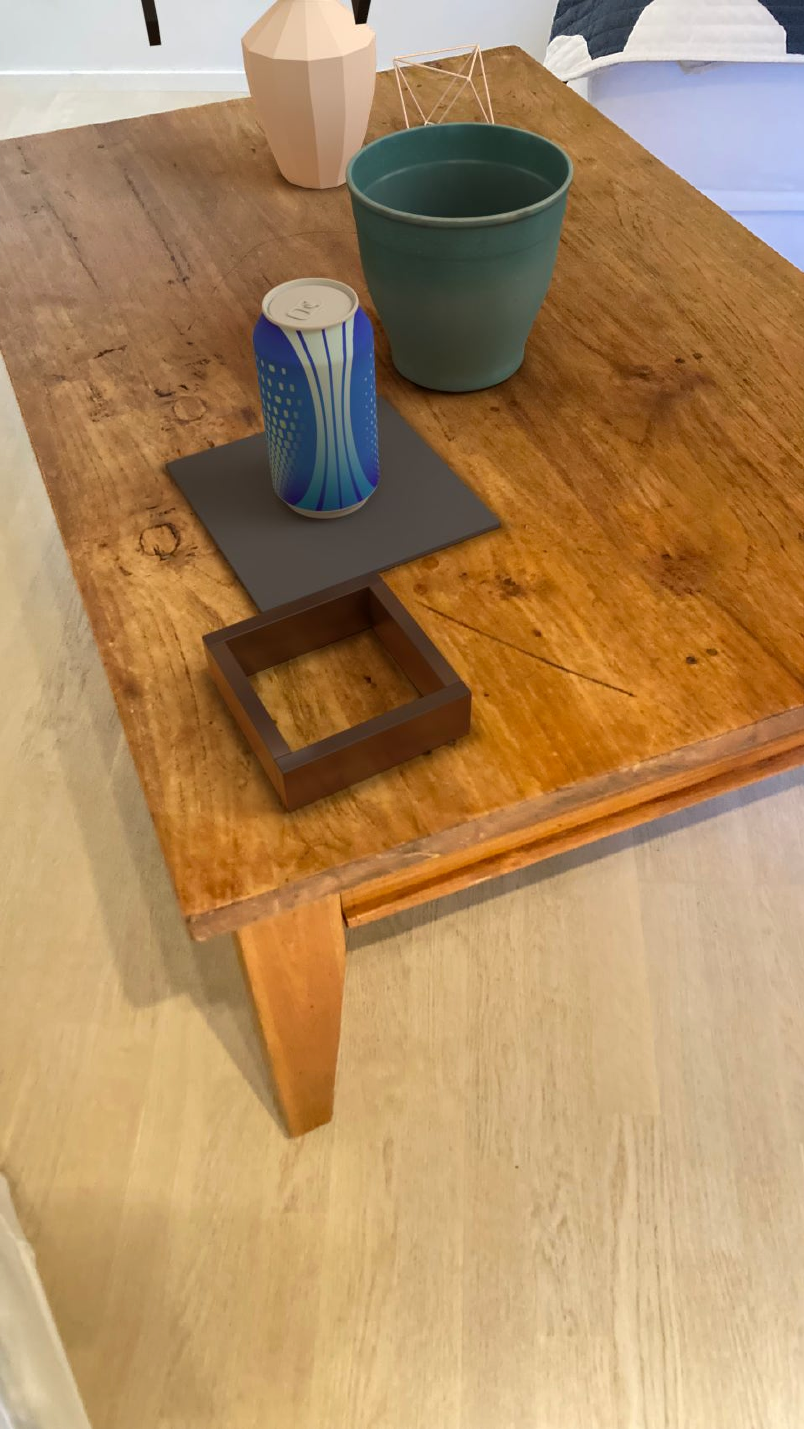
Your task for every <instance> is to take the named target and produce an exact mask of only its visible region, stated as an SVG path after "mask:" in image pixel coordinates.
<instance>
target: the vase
mask: <svg viewBox="0 0 804 1429" xmlns="http://www.w3.org/2000/svg"><path fill="white" fill-rule="evenodd" d="M376 36H377V35H376V33H375V31H374V30H373V29H372V28H371V26H369V25H368V23H366V24H358V25H355V20H354V14H353V11H352V10H350V8H348V7H346V6H345V5H344V4H343V3H341V2H340V1H339V0H276V1H275V2H274V3H273V4H272V5H271V6H270V7H269V8H268V9H267V10H266V11H265V12H264V13H263V14H262V15H261V17H259V19H257V20H256V21H255V23H254V24H253V25H252V26H251V27H250V28H249V29H248V30H246V32H245V33H244V35H243V36H241V38H240V41H241V50H242V58H243V60H242V61H243V67H244V73H245V77H246V81H247V86H248V90H249V95H250V98H251V100H252V103H253V105H254V108H255V111H256V113H257V116H258V119H259V121H260V124H261V127H262V130H263V132H264V135H265V137H266V141H267V143H268V146H269V149H270V151H271V153H272V155H273V157H274V159H275V162H276V165H277V166H278V169H279V171H280V174H281V175H282V177H284V179H285V180H287V182H288V183H289V184H292V185H295V186H299V187H302V188H306V189H316V190H323V189H325V190H326V189H330V188H332V189H333V188H337V187H340V186H342V185H343V184H345V183H346V177H345V172H346V167H347V164H348V163H349V161H350V159H351V158H352V157H353V156H354V154H355V153H356V152H358V151H359V150H360V149H361V148H363V147H362V146H363V145H364V144H363V143H364V140H365V137H366V134H367V130H368V125H369V120H370V114H371V110H372V105H373V100H374V95H375V91H376V90H375V89H376V76H377V38H376Z"/></svg>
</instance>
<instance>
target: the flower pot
mask: <svg viewBox="0 0 804 1429" xmlns="http://www.w3.org/2000/svg"><path fill="white" fill-rule="evenodd" d="M345 177H346V182H345V183H346V184H345V185H346V187H347V190H348V192H349V195H350V201H351V208H352V215H353V218H354V222H355V228H356V229H355V230H356V237H357V243H358V244H357V245H358V251H359V258H360V263H361V268H362V272H363V276H364V281H365V284H366V287H367V291H368V294H369V296H370V299H371V301H372V304H373V307H374V308H375V311H376V313H377V315H378V318H379V320H380V323H381V325H382V327H383V330H384V332H385V335H386V337H387V340H388V343H389V346H390V351H391V360H392V364H393V365H394V367H395V369H396V370H397V371H398V372H399V374H400V375H401V376H402V377H404V378H405V379H407V380H409V381H410V382H412V383H414V384H416V385H419V386H421V387H423V388H427V389H430V390H436V391H441V392H450V393H451V392H452V393H456V392H457V393H461V392H462V393H463V392H472V391H473V392H474V391H478V390H483V389H486V388H490V387H493V386H496V385H498V384H500V383H502V382H504V381H506V380H507V379H509V378H510V377H511V376H513V375H514V374H515V373H516V372H517V371H518V370H519V368H520V367H521V365H522V363H523V360H524V356H525V347H526V346H525V345H526V343H527V340H528V337H529V335H530V333H531V330H532V328H533V325H534V323H535V320H536V319H537V316H538V314H539V312H540V310H541V308H542V307H543V306H542V305H543V303H544V301H545V298H546V295H547V293H548V290H549V288H550V284H551V282H552V278H553V275H554V270H555V266H556V262H557V256H558V251H559V246H560V240H561V233H562V229H563V228H562V227H563V221H564V217H565V214H566V209H567V208H566V207H567V200H568V194H569V190H570V189H571V186H572V183H573V178H574V165H573V162H572V159H571V157H570V156H569V155H568V154H567V152H566V151H565V150H564V149H563V148H562V147H561V146H560V145H558V144H557V143H555V142H553V140H550V139H548V138H547V137H544V136H543V135H540V134H537V133H535V132H532V131H529V130H525V129H522V128H519V127H515V126H510V125H504V124H500V123H499V124H498V123H494V124H492V122H489V123H487V122H476V121H475V122H474V121H452V122H442V123H441V122H440V124H437V123H434V124H430V125H429V124H426V125H424V124H423V125H418V126H413V127H409V128H408V129H407V128H405V129H401V130H398V131H394V132H391V133H388V134H386V135H383V136H381V137H378V138H375V139H374V140H373V141H371V142H368V143H367V144H365V145H363V147H361V149H360V150H359V151H358V152H356V153H355V154H354V156H353V157H352V158H351V159H350V161H349V163H348V164H347V167H346V172H345Z"/></svg>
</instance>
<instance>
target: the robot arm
mask: <svg viewBox="0 0 804 1429" xmlns="http://www.w3.org/2000/svg"><path fill="white" fill-rule="evenodd" d="M350 2H351V7H352V12H353V14H354V20H355V25H358V24H368V19H369V18H368V17H369V13H370V8H371V5H372V4H371V3H372V0H350ZM140 3H141V9H142V14H143V19H144V24H145V28H146V34H147V38H148V44H149V47H155V46H156V47H158V46H162V38H161V30H160V24H159V17H158V13H157V7H156V2H155V0H140Z"/></svg>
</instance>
